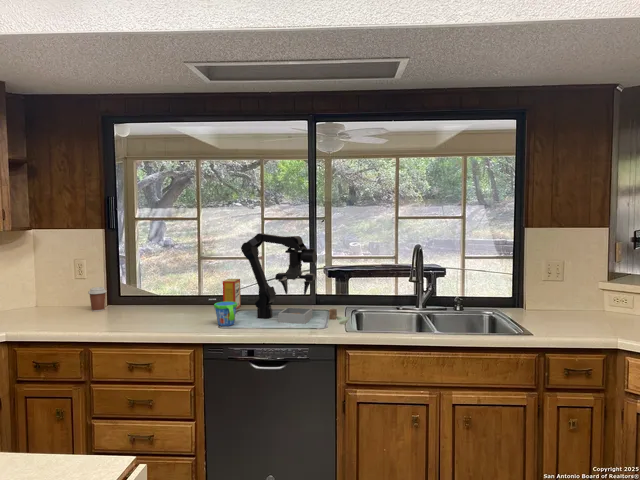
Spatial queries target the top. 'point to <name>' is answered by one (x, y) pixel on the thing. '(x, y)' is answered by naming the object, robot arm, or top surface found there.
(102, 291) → the coffee cup
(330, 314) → the lid
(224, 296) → the baking soda box
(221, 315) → the snack cup
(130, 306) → the top surface
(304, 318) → the bin
